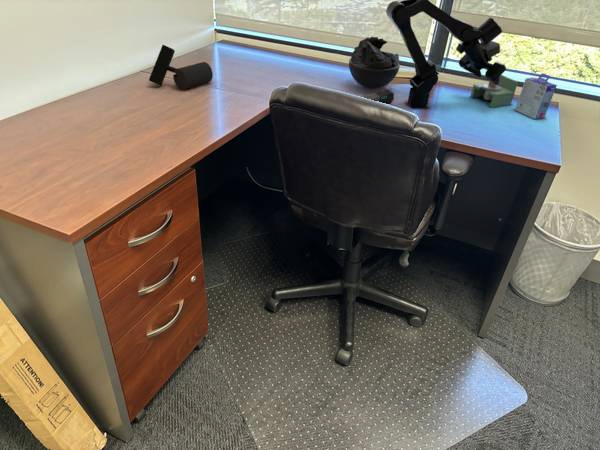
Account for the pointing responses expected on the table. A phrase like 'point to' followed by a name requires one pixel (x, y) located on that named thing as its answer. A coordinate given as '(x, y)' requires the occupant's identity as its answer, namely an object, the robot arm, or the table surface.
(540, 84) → the ink cartridge box
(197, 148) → the table surface
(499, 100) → the rack
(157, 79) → the track light
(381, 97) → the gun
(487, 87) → the cylinder on round base
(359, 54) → the bowl of black rocks
